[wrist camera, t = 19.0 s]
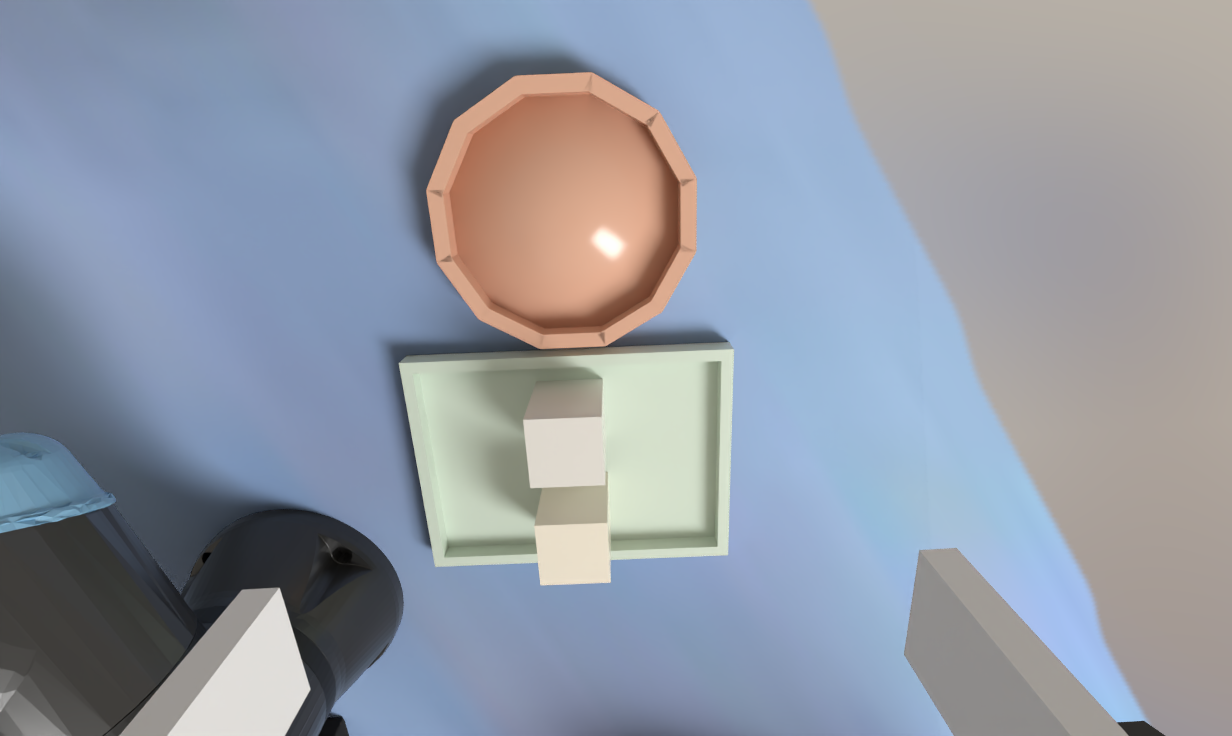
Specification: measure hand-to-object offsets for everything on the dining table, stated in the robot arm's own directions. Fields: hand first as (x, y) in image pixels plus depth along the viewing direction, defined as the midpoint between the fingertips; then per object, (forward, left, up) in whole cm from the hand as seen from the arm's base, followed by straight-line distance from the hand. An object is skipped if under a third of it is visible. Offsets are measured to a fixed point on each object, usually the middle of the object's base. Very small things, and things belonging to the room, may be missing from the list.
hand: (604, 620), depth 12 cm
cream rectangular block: (-3, -14, -26) cm, 29 cm away
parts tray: (-3, -10, -26) cm, 28 cm away
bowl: (-2, +6, -26) cm, 27 cm away
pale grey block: (-3, -7, -26) cm, 27 cm away
